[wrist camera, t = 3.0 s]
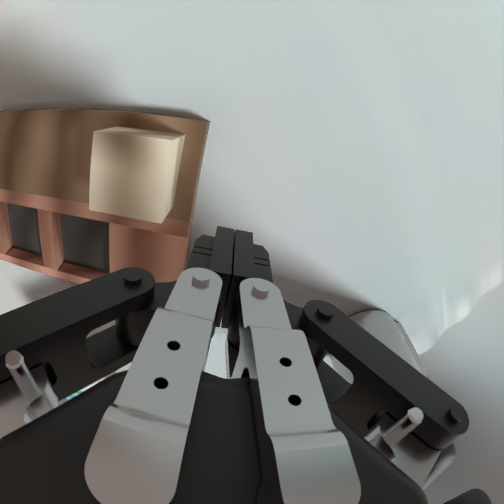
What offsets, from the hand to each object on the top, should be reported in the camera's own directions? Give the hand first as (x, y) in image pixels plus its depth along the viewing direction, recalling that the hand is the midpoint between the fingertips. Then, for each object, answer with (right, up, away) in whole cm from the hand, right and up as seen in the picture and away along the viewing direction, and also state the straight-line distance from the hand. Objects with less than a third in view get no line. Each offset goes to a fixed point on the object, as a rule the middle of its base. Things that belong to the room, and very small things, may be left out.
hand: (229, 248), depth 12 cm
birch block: (-8, +7, +9) cm, 14 cm away
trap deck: (-17, +5, +12) cm, 21 cm away
